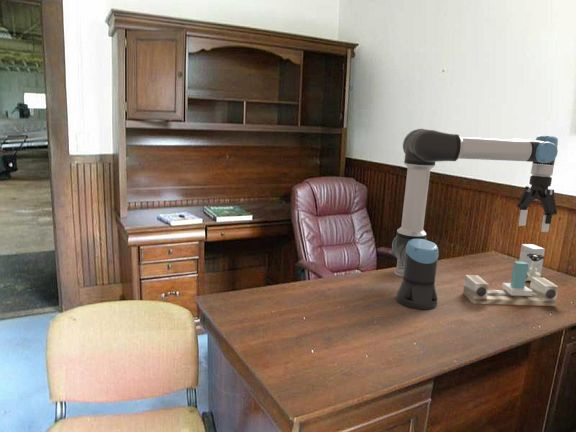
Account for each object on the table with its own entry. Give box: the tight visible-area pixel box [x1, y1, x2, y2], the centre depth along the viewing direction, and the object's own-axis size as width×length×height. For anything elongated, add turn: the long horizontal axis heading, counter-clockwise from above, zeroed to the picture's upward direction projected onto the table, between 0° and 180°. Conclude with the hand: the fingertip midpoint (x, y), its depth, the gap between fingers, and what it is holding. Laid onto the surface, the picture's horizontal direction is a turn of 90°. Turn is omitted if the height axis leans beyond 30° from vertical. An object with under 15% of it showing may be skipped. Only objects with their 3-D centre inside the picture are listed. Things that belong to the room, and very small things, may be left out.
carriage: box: [501, 260, 533, 296], centre depth 178 cm, size 8×8×13 cm
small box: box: [518, 243, 546, 276], centre depth 212 cm, size 8×6×13 cm
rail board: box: [462, 274, 559, 307], centre depth 179 cm, size 32×10×8 cm, turn 91°
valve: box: [525, 253, 545, 282], centre depth 202 cm, size 7×7×12 cm
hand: (532, 228), depth 182 cm, fingers open, 13 cm apart
